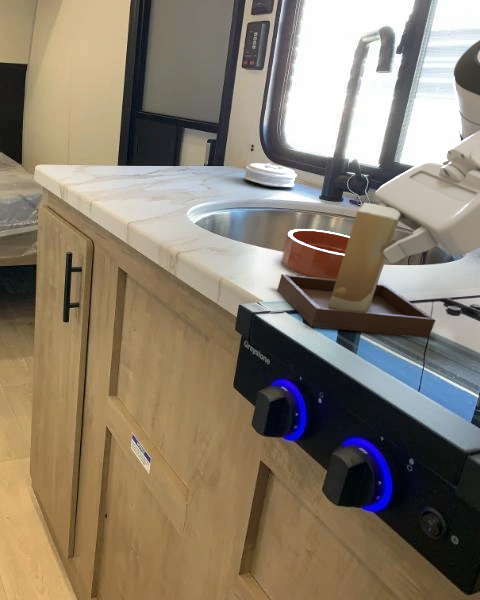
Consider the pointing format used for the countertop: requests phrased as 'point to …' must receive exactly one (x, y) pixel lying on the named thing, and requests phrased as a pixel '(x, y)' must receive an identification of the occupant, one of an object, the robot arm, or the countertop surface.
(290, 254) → the bowl
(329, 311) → the tray
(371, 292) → the cosmetic box
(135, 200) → the countertop surface
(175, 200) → the countertop surface
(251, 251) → the countertop surface
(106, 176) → the countertop surface
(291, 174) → the lid
